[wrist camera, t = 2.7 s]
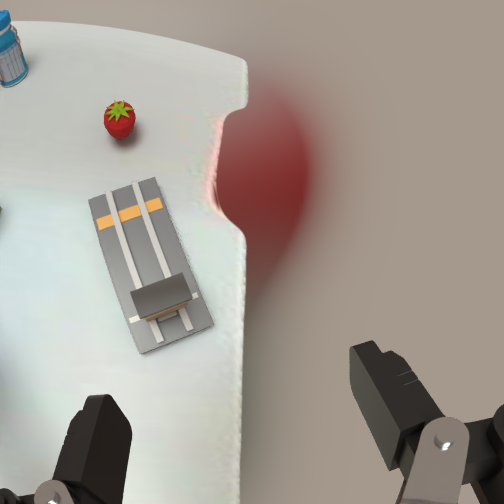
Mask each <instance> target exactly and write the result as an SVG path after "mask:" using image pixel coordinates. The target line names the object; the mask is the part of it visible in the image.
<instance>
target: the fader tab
mask: <svg viewBox="0 0 504 504" xmlns="http://www.w3.org/2000/svg"><path fill="white" fill-rule="evenodd" d="M130 294H131V297H132V300H133V302H134V305H135V308H136V310H137V313H138V316H139V318H140V319H145V320H146V321H147V322H148V321H151V320H154V319H156V318H158V320H159V323H160V322H162V321H165V320H168V319H170V318H173V317H175V316H177V313H176V310H179V309H182V308H184V307H186V305H187V302H188V301H190V300H192V299H193V296H192V294H191V292H190V289H189V287H188V284H187V282H186V280H185V277H184V275H183V272H181V273H179V274H176V275H173V276H171V277H168V278H165V279H163V280H160V281H157V282H155V283H152V284H150V285H147V286H144V287H142V288H139V289H136V290H134V291H131V292H130Z"/></svg>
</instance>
